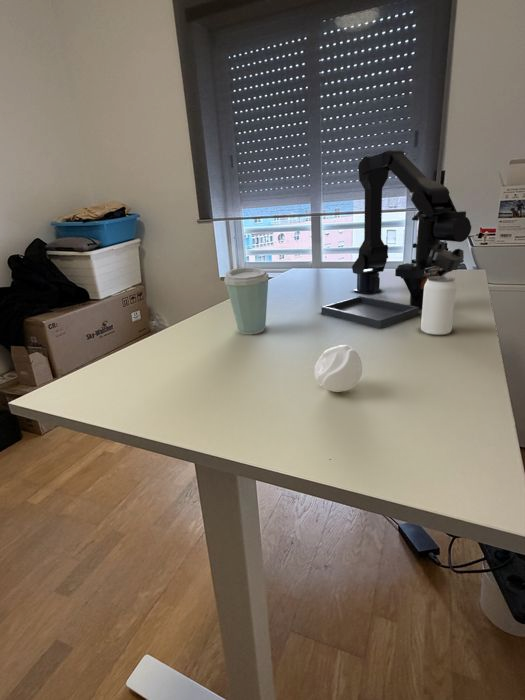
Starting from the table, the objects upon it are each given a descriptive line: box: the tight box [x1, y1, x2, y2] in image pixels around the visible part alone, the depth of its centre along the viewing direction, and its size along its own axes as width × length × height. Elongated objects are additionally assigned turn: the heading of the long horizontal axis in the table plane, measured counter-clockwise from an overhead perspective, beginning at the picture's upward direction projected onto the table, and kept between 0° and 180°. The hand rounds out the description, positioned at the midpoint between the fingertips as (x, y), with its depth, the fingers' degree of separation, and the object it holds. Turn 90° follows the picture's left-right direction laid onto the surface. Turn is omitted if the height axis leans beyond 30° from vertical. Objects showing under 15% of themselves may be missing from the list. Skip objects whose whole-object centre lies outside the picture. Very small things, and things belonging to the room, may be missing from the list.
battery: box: [409, 270, 440, 311], centre depth 108 cm, size 4×7×10 cm, turn 74°
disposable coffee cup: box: [223, 266, 270, 335], centre depth 98 cm, size 11×11×15 cm
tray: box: [320, 295, 420, 330], centre depth 108 cm, size 20×16×2 cm
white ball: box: [313, 344, 363, 393], centre depth 67 cm, size 8×8×8 cm
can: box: [420, 275, 457, 336], centre depth 90 cm, size 6×6×12 cm
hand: (423, 298), depth 109 cm, fingers closed on battery, 7 cm apart
